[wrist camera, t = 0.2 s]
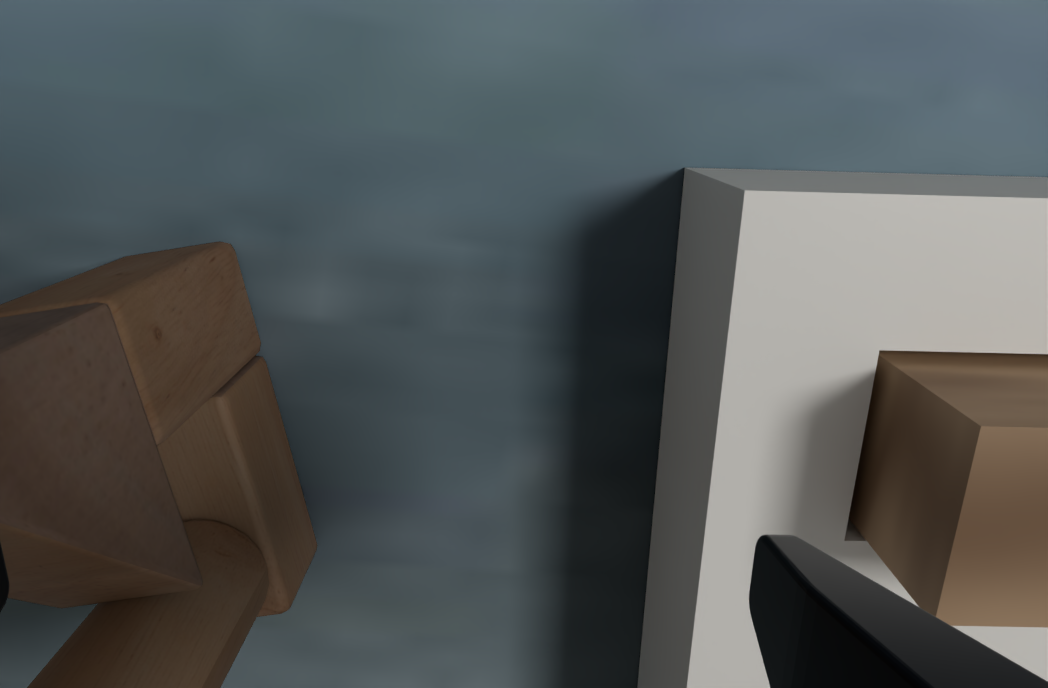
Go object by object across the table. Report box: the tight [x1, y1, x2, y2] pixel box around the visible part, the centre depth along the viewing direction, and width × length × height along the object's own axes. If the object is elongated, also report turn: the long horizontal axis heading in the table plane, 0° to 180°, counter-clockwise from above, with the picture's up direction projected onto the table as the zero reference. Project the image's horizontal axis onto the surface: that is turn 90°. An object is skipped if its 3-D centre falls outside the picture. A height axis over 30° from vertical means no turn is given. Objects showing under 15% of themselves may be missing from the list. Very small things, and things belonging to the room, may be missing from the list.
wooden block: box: [0, 242, 317, 688], centre depth 15 cm, size 4×11×18 cm, turn 9°
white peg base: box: [637, 168, 1048, 688], centre depth 22 cm, size 24×12×6 cm, turn 179°
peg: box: [849, 350, 1048, 628], centre depth 17 cm, size 4×4×5 cm
